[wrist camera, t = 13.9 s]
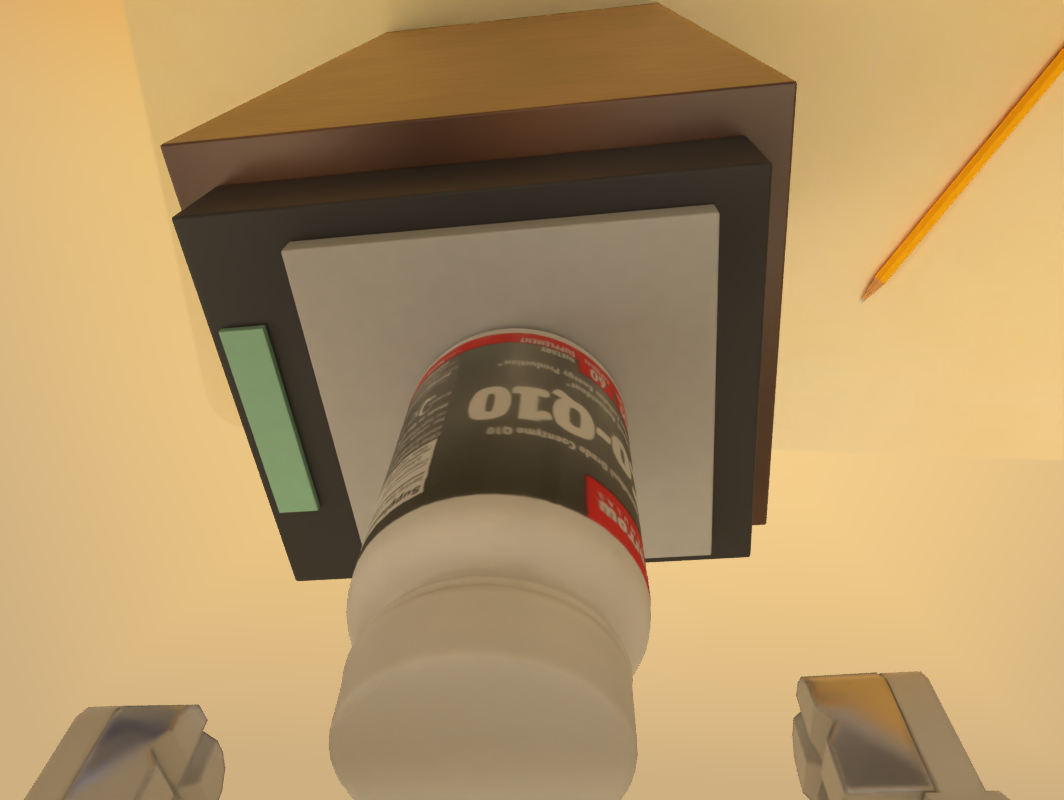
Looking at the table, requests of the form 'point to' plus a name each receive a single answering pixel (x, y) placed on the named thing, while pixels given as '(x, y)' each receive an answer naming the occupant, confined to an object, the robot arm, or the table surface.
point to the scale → (493, 320)
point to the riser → (515, 117)
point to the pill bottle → (499, 587)
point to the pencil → (969, 172)
